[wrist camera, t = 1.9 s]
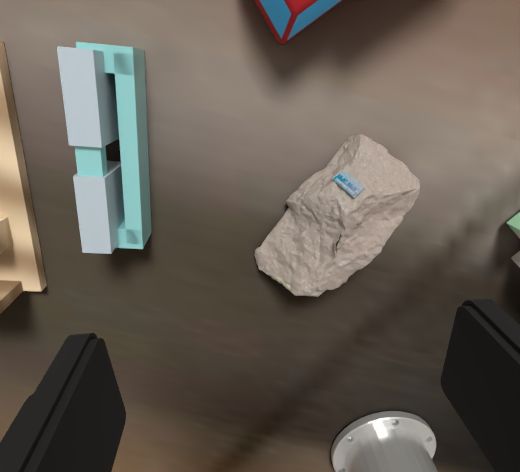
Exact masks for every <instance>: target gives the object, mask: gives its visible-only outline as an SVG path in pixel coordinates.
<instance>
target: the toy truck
mask: <svg viewBox="0 0 520 472" xmlns="http://www.w3.org/2000/svg"><path fill="white" fill-rule="evenodd" d="M254 1H255V3H256V5H257V7H258V8H259V10H260V12H261V14H262V16H263V17H264V19H265V21H266V23H267V24H268V26H269V28H270V30H271V31H272V33H273V35H274V37H275V38H276V40H277V42H278V43H280V44H284V43H286V42H287V41H289V40H290V39H291V38H293V37H294V36H295V35H297V34H298V33H299V32H301V31H302V30H303V29H305V28H306V27H308V26H309V25H310V24H312V23H313V22H314V21H316V20H317V19H318V18H320V17H321V16H322V15H324V14H325V13H326V12H328V11H329V10H330V9H332V8H333V7H335V6H336V5H337V4H339V3H340V2H341V1H343V0H254Z"/></svg>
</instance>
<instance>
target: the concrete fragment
mask: <svg viewBox="0 0 520 472" xmlns="http://www.w3.org/2000/svg"><path fill="white" fill-rule="evenodd" d="M419 189H420V183H419V179H417V178H416V177H415V176H414V175H413V174H412V173H411V172H410V171H409V170H408V168H407V166H406V165H405V164H404V163H403V162H401V161H399V160H397V159H396V158H394V157H392V156H391V155H390V154H388V151H387V149H386V148H384V147H383V146H382V145H380V144H378V143H376V142H374V141H373V140H371V139H370V138H368V137H366V136H365V135H362V134H356V135H355V136H353V135H351V136H349V137H348V138H347V139H346V141H345V142H344V144H343V145H342V146H341V147H340V148H339V150H338V152H337V153H336V154H335V155H334V157H333V158H332V160H331V161H330V162H329V163H328V165H327V166H326V168H325V169H323V170H322V171H318V172H317V173H315V174H313V175H312V176H311V178H309V179H307V180H306V181H305V182H304V183H303V184H302V185H301V186H300V187H299V188H298V189H297V191H295V192H294V193H293V194H291V195H290V197H289V198H288V200H287V201H286V204H287V205H288V207H289V208H288V209H287V211H286V213H285V214H284V216H283V217H282V218H281V220H280V221H279V222H278V223H277V225H276V226H275V227H274V229H273V230H272V231H271V232H270V234H269V235H268V236H267V238H266V239H265V240H264V242H263V243H262V245H261V247H259V248H257V249H256V250H255V254H254V256H255V258H256V263H257V265H258V267H259V270H261V271H263V272H265V273H266V274H267V275H269V276H271V277H272V279H274V280H276V281H278V282H279V283H281V284H283V285H284V287H285V288H287V289H288V290H289V291H291V292H292V293H293V294H294V295H295V296H303V295H305V296H316V297H319V296H320V295H321V294H322V293H323V292H325V291H326V290H333V289H335V288H338V287H339V286H340V285H341V284H343V283H345V282H346V281H347V280H348V277H349V276H351V275H352V274H353V273H354V272H355V271H357V270H359V269H362V268H363V267H365V266H366V265H367V264H369V263H370V262H371V261H372V260H373V258H374V257H376V256H377V255H378V254H379V253H380V252H381V250H382V247H383V246H384V245H385V243H386V241H387V240H388V238H389V237H390V236H391V234H392V232H393V231H394V229H395V228H396V227H397V226H398V225H399V224H400V223H401V221H402V220H403V215H404V214H405V213H407V212H408V211H409V210H410V209H411V207H412V206H413V204H414V202H415V200H416V199H417V197H418V195H419Z"/></svg>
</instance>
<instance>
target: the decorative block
mask: <svg viewBox="0 0 520 472" xmlns="http://www.w3.org/2000/svg"><path fill="white" fill-rule="evenodd" d="M507 224H508V225H509V227H510V228H511V229H512V230H513V231H514V233H515V234H516V235H517V236H518V237H519V239H520V212H519V213H518V214H516V215H515V216H514V217H513V218H511V219H510V220H509V221H508V222H507ZM511 258H512V260H513V261H514V262H515V263H516V264H517V265H518V266H519V268H520V251H519V252H518V253H516V254H515V255H514V256H513V257H511Z"/></svg>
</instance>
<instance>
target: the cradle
mask: <svg viewBox="0 0 520 472" xmlns="http://www.w3.org/2000/svg"><path fill="white" fill-rule="evenodd" d="M46 286H47V283H46V278H45V272H44V266H43V261H42V255H41V249H40V244H39V238H38V233H37V227H36V221H35V216H34V210H33V204H32V199H31V193H30V187H29V182H28V176H27V170H26V165H25V159H24V153H23V148H22V142H21V136H20V131H19V125H18V120H17V114H16V108H15V103H14V97H13V91H12V86H11V80H10V74H9V69H8V63H7V57H6V52H5V46H4V42H1V41H0V314H1V313H2V312H3V311H4V310H5V309H6V308H7V307H8V306H9V305H10V304H11V303H12V302H13V301H14V300H15V299H16V298H17V297H18V296H19V295H20V294H21V293H22V292H23V291H42V290H43V289H44V288H45V287H46Z"/></svg>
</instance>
